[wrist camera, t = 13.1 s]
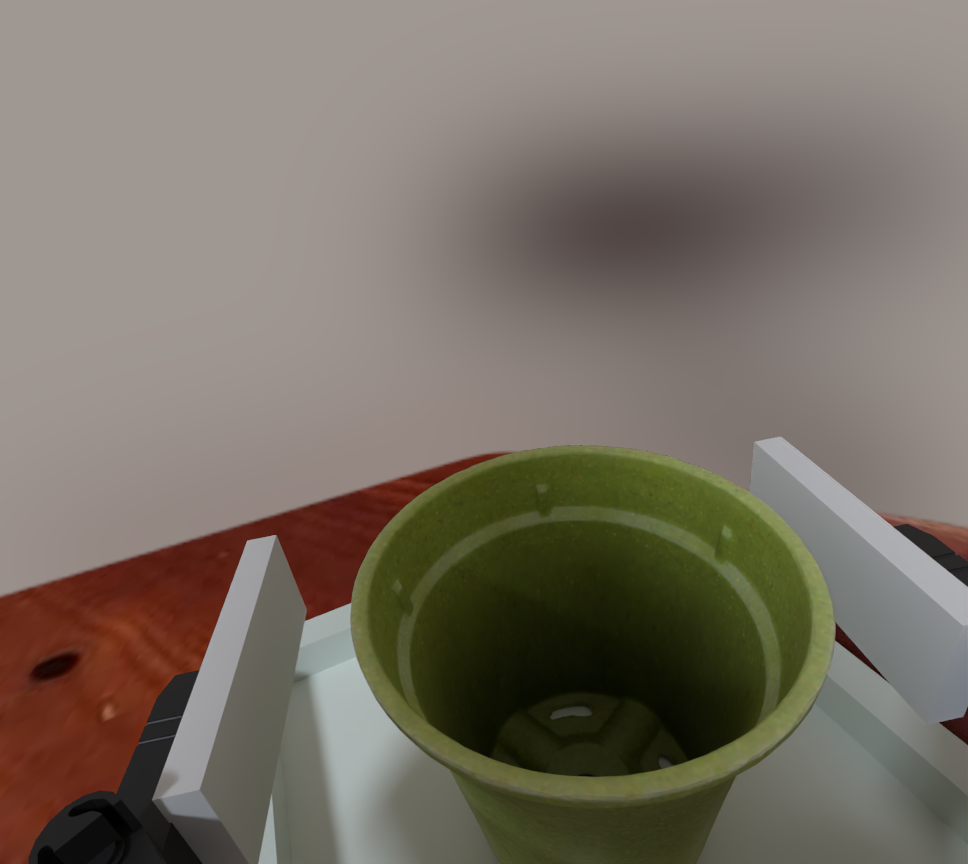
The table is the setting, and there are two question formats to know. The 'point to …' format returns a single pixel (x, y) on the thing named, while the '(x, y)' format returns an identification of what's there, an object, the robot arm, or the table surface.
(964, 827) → the tray
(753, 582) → the plant pot
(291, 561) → the table surface
